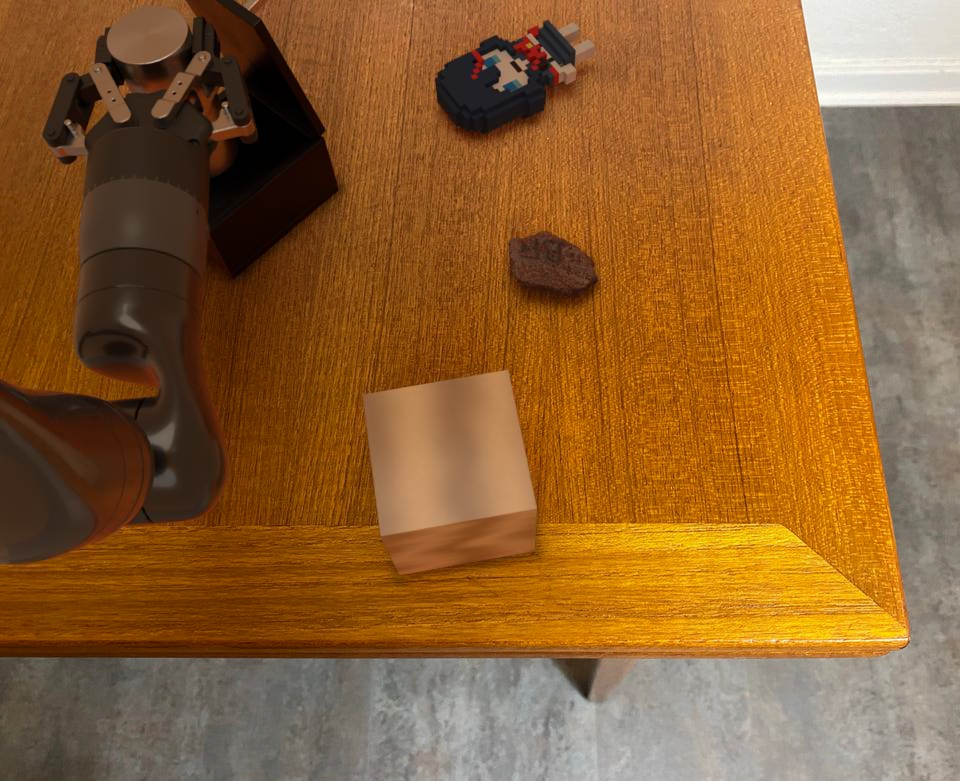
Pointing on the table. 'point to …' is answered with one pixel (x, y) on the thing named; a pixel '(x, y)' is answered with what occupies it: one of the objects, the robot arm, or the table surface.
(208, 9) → the lid
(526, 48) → the figurine
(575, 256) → the stone
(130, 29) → the canister
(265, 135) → the dark brown box
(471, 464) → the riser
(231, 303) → the table surface
